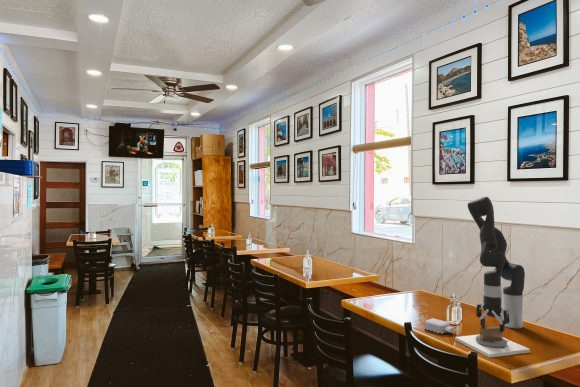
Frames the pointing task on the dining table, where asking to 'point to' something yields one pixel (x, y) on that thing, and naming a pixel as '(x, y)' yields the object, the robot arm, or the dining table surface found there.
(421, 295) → the dining table surface
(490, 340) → the dial
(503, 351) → the dial plate
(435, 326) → the grey elongated piece
